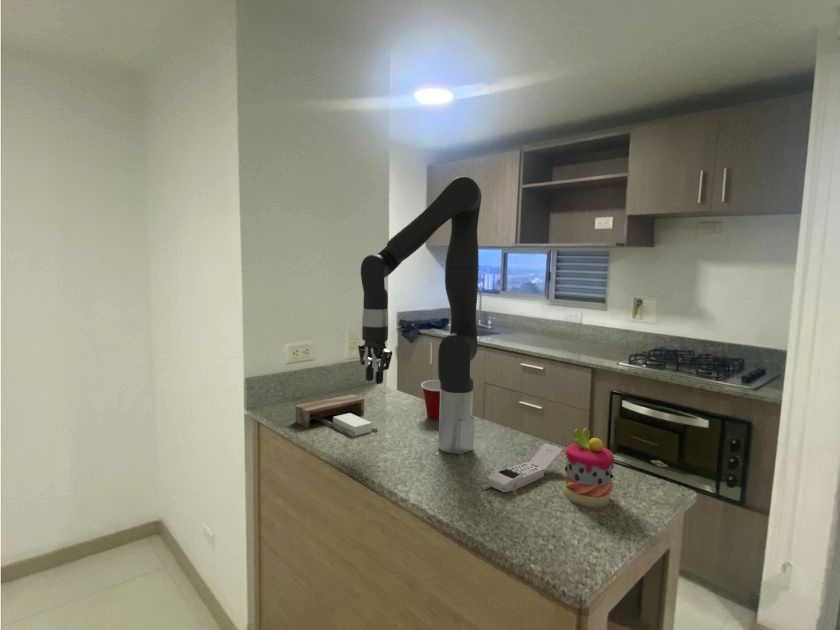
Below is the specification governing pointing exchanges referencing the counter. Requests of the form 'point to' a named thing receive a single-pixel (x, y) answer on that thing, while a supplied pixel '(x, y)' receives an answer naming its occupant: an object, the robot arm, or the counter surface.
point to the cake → (588, 471)
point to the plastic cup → (432, 398)
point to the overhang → (330, 411)
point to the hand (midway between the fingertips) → (374, 381)
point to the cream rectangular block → (353, 424)
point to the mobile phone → (524, 470)
